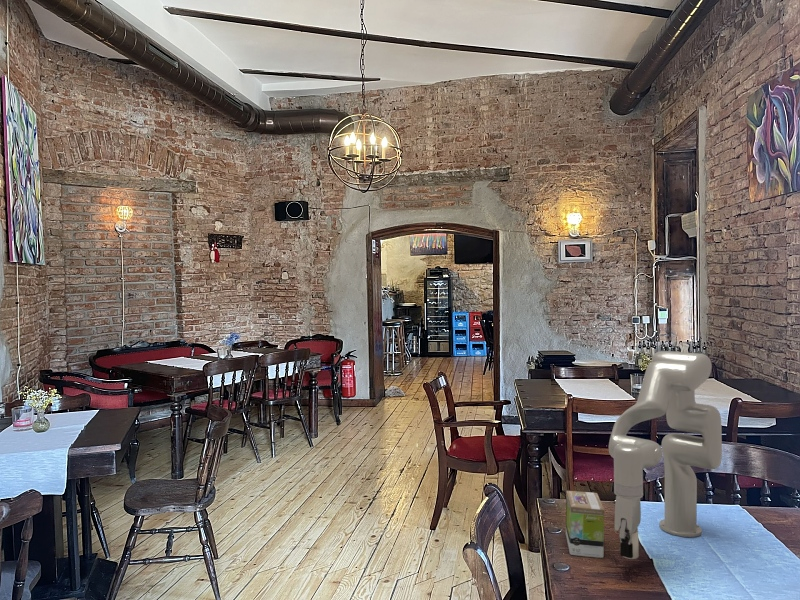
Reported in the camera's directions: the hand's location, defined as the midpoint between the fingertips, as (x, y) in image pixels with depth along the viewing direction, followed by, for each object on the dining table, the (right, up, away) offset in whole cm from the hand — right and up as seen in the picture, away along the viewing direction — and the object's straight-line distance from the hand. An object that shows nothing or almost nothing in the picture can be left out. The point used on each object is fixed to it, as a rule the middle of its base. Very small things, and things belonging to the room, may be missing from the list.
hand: (629, 552), depth 157 cm
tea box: (-8, -5, +16) cm, 18 cm away
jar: (0, -1, 0) cm, 1 cm away
